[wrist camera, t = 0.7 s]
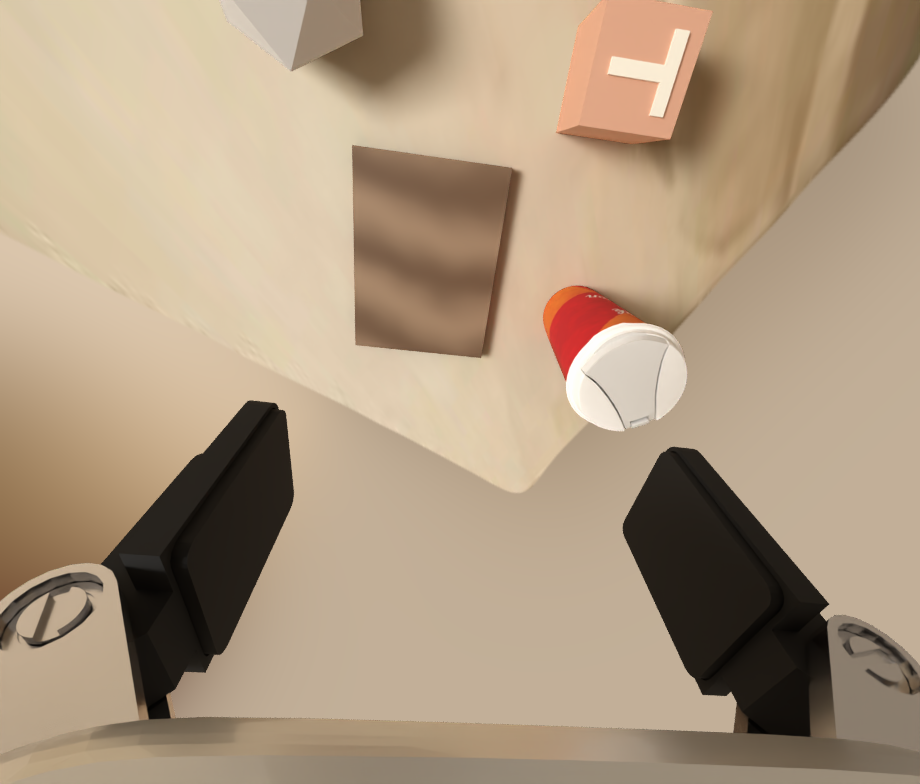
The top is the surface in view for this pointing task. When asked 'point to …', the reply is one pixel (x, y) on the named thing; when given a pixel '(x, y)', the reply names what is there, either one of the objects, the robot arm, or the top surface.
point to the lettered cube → (631, 70)
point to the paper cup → (613, 360)
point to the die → (296, 26)
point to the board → (425, 250)
